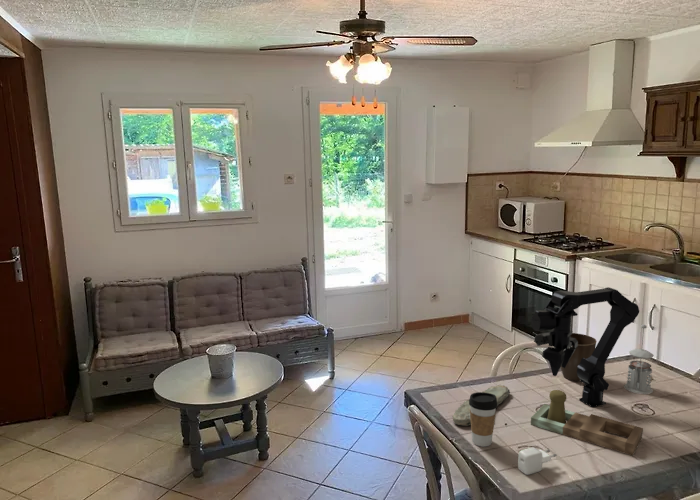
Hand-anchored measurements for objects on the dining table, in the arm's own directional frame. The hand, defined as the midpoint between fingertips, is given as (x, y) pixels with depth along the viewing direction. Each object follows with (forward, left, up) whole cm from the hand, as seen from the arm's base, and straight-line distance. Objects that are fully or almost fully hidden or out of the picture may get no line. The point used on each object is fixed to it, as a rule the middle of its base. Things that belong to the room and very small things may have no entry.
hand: (559, 371), depth 189 cm
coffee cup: (+38, +10, -13) cm, 41 cm away
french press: (-38, 0, -13) cm, 40 cm away
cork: (+8, +9, -13) cm, 18 cm away
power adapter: (+32, +28, -13) cm, 45 cm away
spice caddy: (+4, +17, -13) cm, 22 cm away
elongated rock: (+24, -9, -14) cm, 29 cm away
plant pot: (-24, -18, -13) cm, 33 cm away
